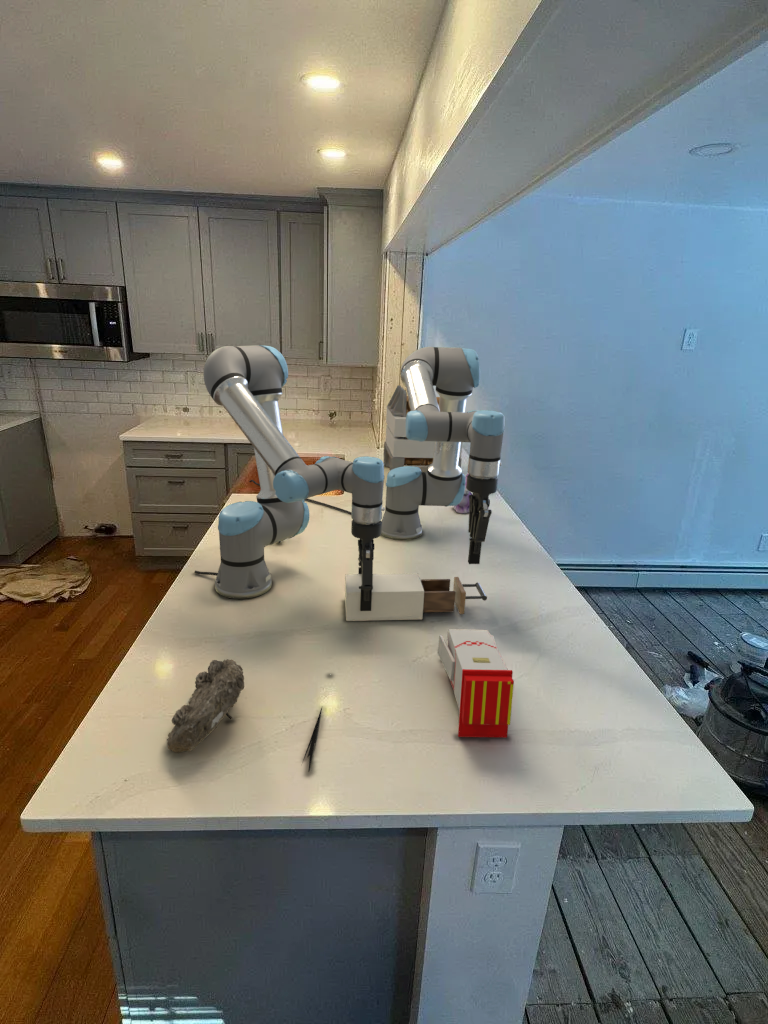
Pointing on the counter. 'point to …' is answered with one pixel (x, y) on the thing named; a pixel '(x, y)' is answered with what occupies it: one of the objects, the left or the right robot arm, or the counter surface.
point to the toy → (478, 682)
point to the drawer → (447, 595)
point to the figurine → (464, 501)
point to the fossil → (206, 705)
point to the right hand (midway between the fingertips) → (473, 562)
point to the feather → (313, 740)
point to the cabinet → (386, 597)
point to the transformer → (398, 444)
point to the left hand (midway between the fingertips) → (364, 599)
